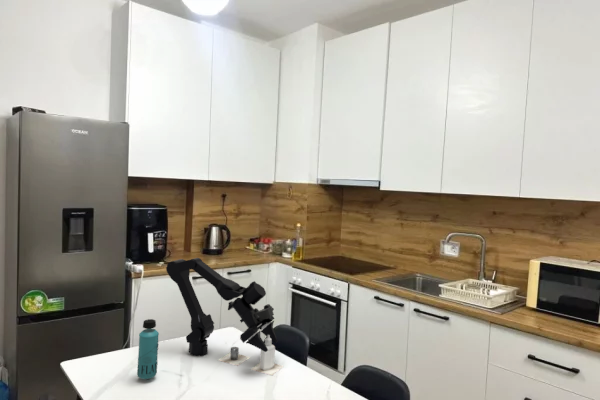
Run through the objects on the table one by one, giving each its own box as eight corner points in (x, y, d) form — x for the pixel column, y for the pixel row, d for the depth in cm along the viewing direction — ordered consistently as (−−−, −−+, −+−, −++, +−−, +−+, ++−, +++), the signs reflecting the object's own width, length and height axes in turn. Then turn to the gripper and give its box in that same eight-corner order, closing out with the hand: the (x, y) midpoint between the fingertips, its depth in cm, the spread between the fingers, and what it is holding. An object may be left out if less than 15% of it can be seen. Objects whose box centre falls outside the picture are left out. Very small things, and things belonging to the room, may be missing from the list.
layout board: (212, 365, 150) (212, 362, 150) (230, 354, 161) (230, 351, 161) (268, 381, 140) (268, 378, 140) (284, 368, 151) (284, 365, 151)
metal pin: (228, 359, 153) (229, 348, 153) (233, 356, 156) (233, 346, 156) (235, 361, 152) (235, 350, 152) (239, 358, 155) (240, 347, 155)
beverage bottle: (137, 385, 132) (140, 324, 132) (135, 376, 138) (138, 318, 137) (158, 381, 135) (161, 322, 135) (155, 373, 141) (158, 316, 140)
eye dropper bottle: (275, 369, 147) (277, 336, 146) (260, 370, 145) (262, 337, 145) (273, 364, 151) (274, 332, 151) (258, 365, 149) (259, 333, 149)
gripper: (250, 305, 140) (277, 342, 136) (271, 293, 157) (296, 325, 154) (228, 324, 142) (255, 361, 139) (251, 310, 160) (275, 342, 157)
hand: (271, 346), depth 147 cm, fingers open, 9 cm apart
